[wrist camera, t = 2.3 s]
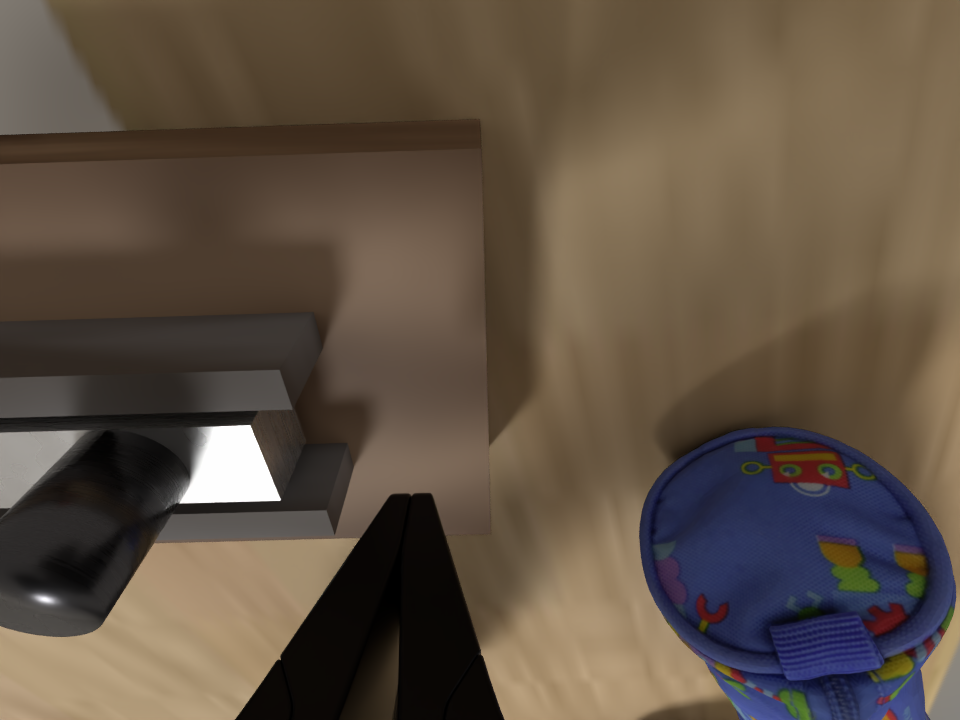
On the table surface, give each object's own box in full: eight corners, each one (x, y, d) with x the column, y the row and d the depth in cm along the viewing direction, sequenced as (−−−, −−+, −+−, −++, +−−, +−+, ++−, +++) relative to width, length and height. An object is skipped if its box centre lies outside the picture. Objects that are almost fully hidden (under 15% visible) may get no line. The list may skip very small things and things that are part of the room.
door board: (488, 448, 19) (493, 602, 14) (49, 460, 19) (-111, 617, 14) (479, 119, 12) (483, 178, 7) (-202, 141, 12) (-693, 215, 7)
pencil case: (864, 631, 28) (1015, 859, 20) (721, 663, 31) (807, 880, 23) (818, 377, 17) (1104, 659, 9) (600, 458, 20) (684, 739, 12)
